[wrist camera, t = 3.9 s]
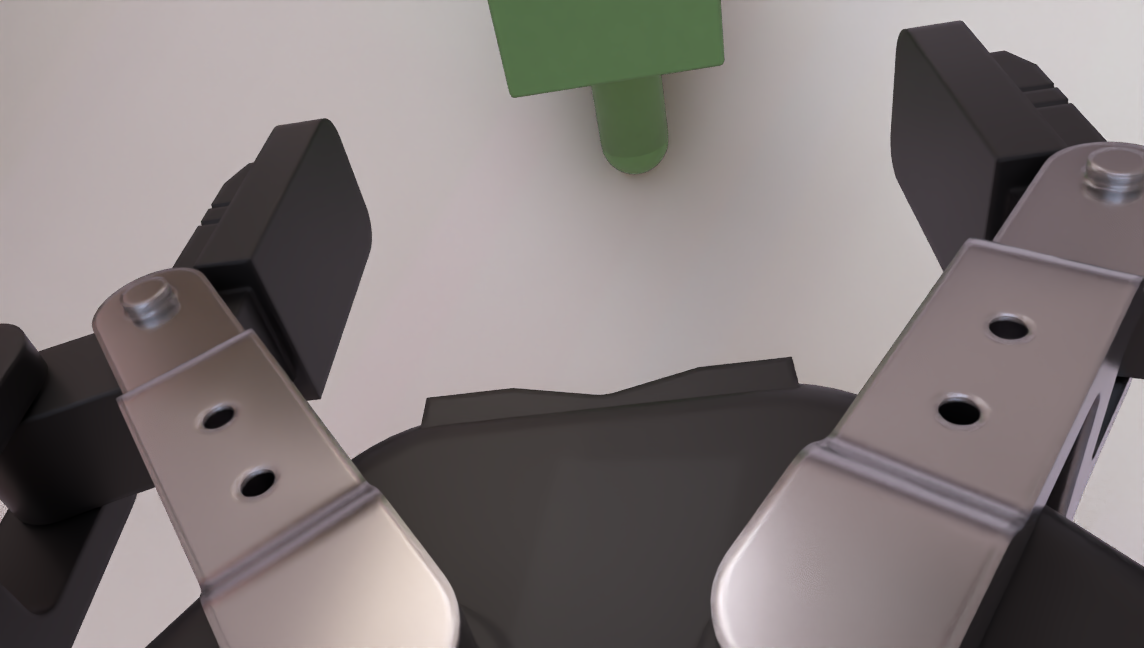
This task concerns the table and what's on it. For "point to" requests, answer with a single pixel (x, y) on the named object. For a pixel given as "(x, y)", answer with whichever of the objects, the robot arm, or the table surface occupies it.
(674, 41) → the toy dinosaur
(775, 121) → the table surface
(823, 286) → the table surface
